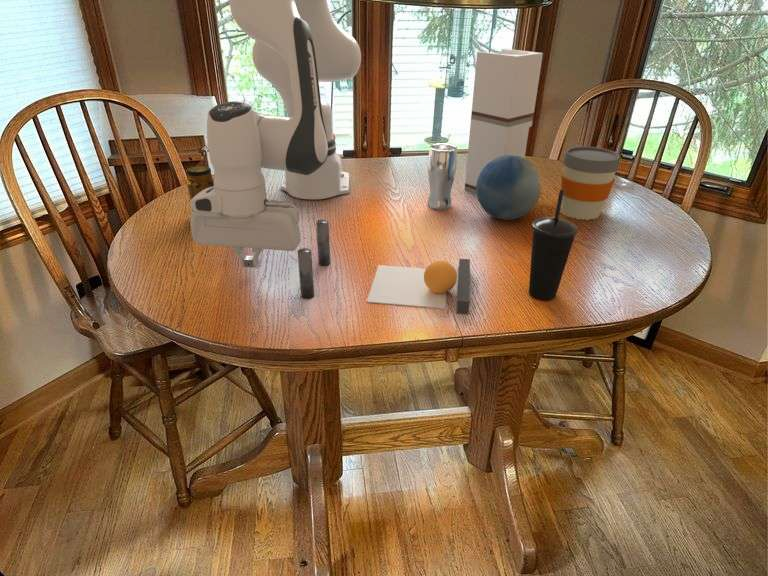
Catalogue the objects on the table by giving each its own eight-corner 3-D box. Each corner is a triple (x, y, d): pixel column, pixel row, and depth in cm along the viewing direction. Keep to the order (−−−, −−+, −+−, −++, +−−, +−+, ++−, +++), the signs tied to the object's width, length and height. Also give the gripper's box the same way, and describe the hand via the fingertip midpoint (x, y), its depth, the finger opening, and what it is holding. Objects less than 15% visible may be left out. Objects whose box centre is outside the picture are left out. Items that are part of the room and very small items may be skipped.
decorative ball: (481, 202, 137) (487, 144, 130) (539, 211, 132) (550, 152, 125) (466, 223, 125) (472, 161, 118) (530, 234, 120) (540, 170, 113)
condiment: (195, 212, 129) (186, 164, 123) (230, 211, 130) (223, 163, 124) (189, 224, 123) (179, 174, 117) (226, 223, 124) (218, 173, 118)
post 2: (320, 260, 108) (317, 219, 104) (331, 260, 108) (329, 220, 103) (317, 265, 106) (314, 224, 102) (328, 266, 106) (326, 224, 101)
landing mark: (378, 265, 106) (378, 265, 106) (448, 271, 105) (448, 270, 105) (366, 302, 94) (366, 301, 94) (445, 309, 93) (445, 308, 93)
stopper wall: (458, 269, 105) (459, 258, 104) (468, 270, 105) (469, 259, 104) (456, 313, 92) (457, 300, 90) (468, 314, 91) (469, 301, 90)
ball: (419, 277, 100) (429, 251, 97) (449, 284, 101) (460, 258, 98) (419, 295, 95) (429, 268, 92) (451, 303, 96) (462, 276, 93)
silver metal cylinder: (443, 212, 131) (448, 152, 123) (420, 206, 134) (423, 147, 127) (458, 204, 136) (463, 146, 128) (435, 198, 139) (438, 141, 132)
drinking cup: (556, 283, 101) (576, 182, 91) (569, 304, 94) (593, 198, 84) (516, 283, 101) (532, 182, 91) (527, 305, 94) (545, 198, 84)
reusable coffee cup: (553, 219, 128) (564, 158, 121) (554, 201, 139) (565, 144, 131) (608, 225, 125) (623, 163, 117) (605, 207, 135) (619, 148, 128)
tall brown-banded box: (521, 192, 144) (542, 53, 126) (497, 201, 138) (516, 56, 120) (488, 181, 151) (504, 48, 133) (464, 190, 145) (477, 51, 127)
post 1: (303, 291, 97) (299, 247, 93) (315, 292, 97) (313, 248, 92) (299, 298, 95) (295, 253, 91) (312, 299, 95) (309, 254, 90)
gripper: (302, 195, 97) (307, 262, 104) (196, 189, 99) (208, 255, 106) (292, 208, 91) (298, 278, 98) (180, 201, 94) (194, 269, 101)
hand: (250, 266), depth 102 cm, fingers closed
